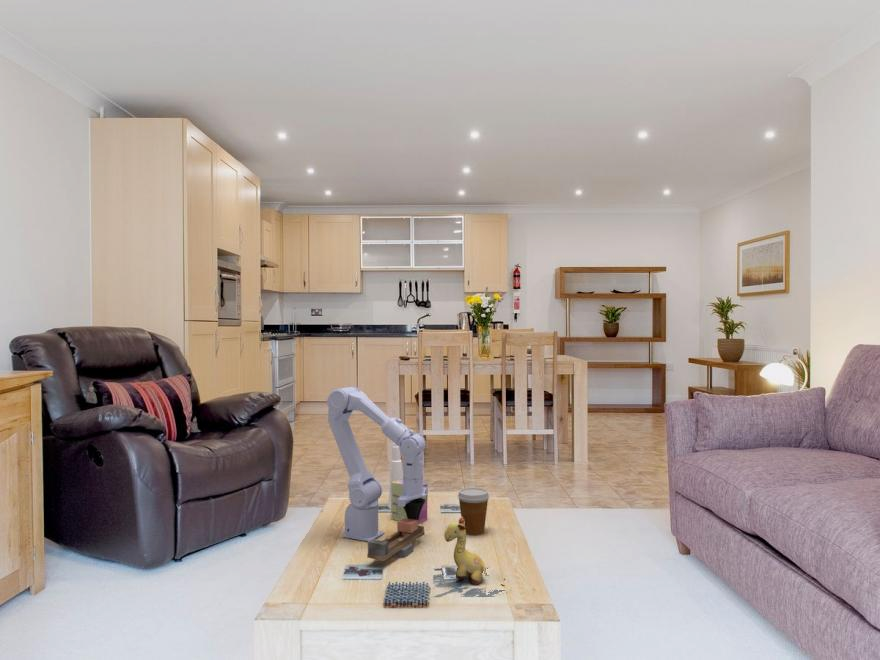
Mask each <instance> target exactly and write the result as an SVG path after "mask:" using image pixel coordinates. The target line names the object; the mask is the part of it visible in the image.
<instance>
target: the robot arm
mask: <svg viewBox="0 0 880 660" xmlns="http://www.w3.org/2000/svg"><path fill="white" fill-rule="evenodd" d="M326 403H327V408H328V410H327V411H328V413H327V419H328V420H327V421H328V425H329V427H330V430H331V432H332V434H333V435H332V436H333V437H334V440H335V443H336V444H337V447H338V450H339V452H340V455H341V458H342V462H343V463H344V465H345V468H346V472H347V473H348V476H349V479H348V483H347V488H348V493H349V494H348V495H349V496H348V499H349V501H350V504H348V505H347V506H346V508H345V510H344V534H343V535H342V537H343V538H348V539H353V540H359V541H364V542H369V541H371V540H373V539H375V540H377V538H379V537H381V536H382V535H384V534H385V532H384V531H381V530H379V499H380V498H381V497H382V494H383V488H382V485H381V483H380V482H379V481H378V480H377V479H376V477H375V475H374V474H373V473H372V472H371V471H369V470H368V468H367V465H366V463H365V460H364V458H363V456H362V453H361V451H360V448H359V446H358V442H357V441H356V437H355V434H354V433H353V430H352V428H351V425H350V422H349V419H350V417H351V415H352V413H353V412H354V411H356V412H357V411H359V412H361V413H362V414H364V415H365V416H367V417H368V418H370V420H372V421H374V422H375V424H377V425H379V426H380V428H381V433H382V434H383V435H384V436H385V437H386V438H388V439H389V440H390V441H391V442H393V443H395V444H396V445H397V446H399V449H400V455H402V458H403V459H402V477H403V493H402V495H401V496H400V498H398V506H402V507H403V508H404V510H405V512H406V515H407V519H413V520H418V521H419V516H420V512H421V509H422V507H423V505H424V503H425V499H421V497H422V498H424V497H426V496H427V497H428V495H427V494H429V490H428V489H429V488H428V487H423V483H424V451H425V449H426V447H427V442H426V439H425V437H424V435H422V434H421V433H418V432H415V430H413V429H410V428H409V427H407V426H406V425H405V424H404V423H403V420H402V419H401V418H398V417H395V416H392V417H389V416H388V415H387V414H386V413H385V412H384V411H382V410H381V408H379V406H378V405H376V404H375V403H374V402H373V401H372V400H371V399H370V398H369V397H368V395H366V393H365V392H364V391H362V390H360V389H359V387H357V386H355V385H350V386H347V387H342V388H341V387H340V388H335V389H333V390H331V392H330V393H329V394H328V397H327V399H326Z"/></svg>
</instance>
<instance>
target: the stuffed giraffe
mask: <svg viewBox="0 0 880 660" xmlns="http://www.w3.org/2000/svg"><path fill="white" fill-rule="evenodd" d="M443 536H444V537H443V538H444V539H445V541H446V542H447V543H449V542H451V541H453V540H457V541H456V544H455V546H454V552H453V560H454V562H455V565H456V567H458V568H457V572H456V578H455V581H452V582H448V581H446V580H445V579H444V577H443V575H444V574H445V573H443V572H442V568H443V567H442V568H440V567H439V568H434V569H433V571H438V572H439V571H441V572H442V573H441V574H435V575H434V574H433V575H432V580H433V581H432V584H434V587H433V588H432V589H434V590H435V588H451V589H449V590H448V591H447V592H446V591H445V592H443V593H440V594H436V595H434V596H433V597H434V598H439V597H440V598H442V597H444V596H447V595H448V594H452V593H456V592H457V593H459V594H460V595H461V596H460V598H461V597H464V598H465V597H467V598H468V597H472V598H473V597H475V596H476V597H493V596H492V595H494V594H498V593H499V592H502V591H505V590H499V591H498V590H497V589H491V590H492V591H493V590H494V591H493V592H492V591H489V592H488V593H490V594H488V595H486V593H487V592H486V588H483V587H480V588H479V587H475V588H470V589H469V586H465V587H463V586H464V585H468V584H470V585H472V586H478V585H479V584H480V583H481V581H482V580H483V579H482V578H483V575H482V573H483V571H484V574H485V575H484V576H485V577H487V576H488V575H487V573H486V568H487V569H488V568H489V567H486V565H485V561H483V559H482V558H481V557H480V555H477V554H476V553H473V552H471V551H469V550H467V549H466V543H467V534H466V531H465V519H463V517H461V516H460V518H459V519H458V522H457V521H453V522H450V523H449V524H448V526H447V528H446V529H445V531H444V535H443ZM467 589H469V590H467ZM464 590H466V591H465V592H464ZM483 590H484V591H483ZM463 592H464V593H463ZM494 596H495V595H494Z"/></svg>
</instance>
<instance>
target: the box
mask: <svg viewBox="0 0 880 660" xmlns="http://www.w3.org/2000/svg"><path fill="white" fill-rule="evenodd" d="M428 486H429V485H428V483H425V482H423V487H428ZM402 493H403V479H400V480H397V481H394V482H392V483H391V510H390V517H391V520H396V521H400V520H402V519H404V518H407V515H406V512H405V510H404V508H403V507H402V506H398V498H400V496H401V495H402ZM428 494H429V493H428ZM428 494H427V496H426V497H424V498H422V497H421V499H425V503H424V505H423V507H422V509H421V512H420V516H419V521H418V525H420V524H423V523H424V522H426V521H428Z"/></svg>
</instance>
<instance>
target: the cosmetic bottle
mask: <svg viewBox="0 0 880 660" xmlns="http://www.w3.org/2000/svg"><path fill="white" fill-rule="evenodd" d="M391 449H392V450H391V461H390V474H389V475H390V476H389V477H390V479H389V491H388V492H389V495H388V503H387V508H388V507H389V508H390V509H391V483H392V482H394V481H397V480H400V479H403V460H402V459H401V452H400V449H399V446H397V445H396V444H395V443H394V442H393V443H392V447H391Z"/></svg>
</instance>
